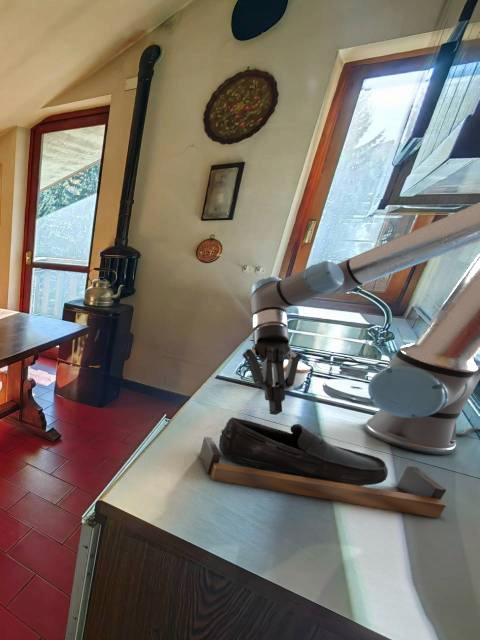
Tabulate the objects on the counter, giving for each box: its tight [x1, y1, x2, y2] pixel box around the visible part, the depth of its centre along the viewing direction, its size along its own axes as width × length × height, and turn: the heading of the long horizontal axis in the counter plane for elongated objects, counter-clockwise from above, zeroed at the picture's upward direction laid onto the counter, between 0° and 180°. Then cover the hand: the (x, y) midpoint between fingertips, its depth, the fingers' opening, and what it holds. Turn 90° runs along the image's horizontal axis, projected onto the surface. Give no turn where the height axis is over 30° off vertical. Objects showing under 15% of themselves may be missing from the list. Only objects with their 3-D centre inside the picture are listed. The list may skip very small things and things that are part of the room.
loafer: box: [218, 417, 389, 487], centre depth 83 cm, size 10×29×10 cm, turn 70°
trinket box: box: [272, 359, 311, 391], centre depth 127 cm, size 11×11×9 cm
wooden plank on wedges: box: [199, 436, 447, 519], centre depth 79 cm, size 38×10×5 cm, turn 73°
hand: (275, 412), depth 96 cm, fingers closed
